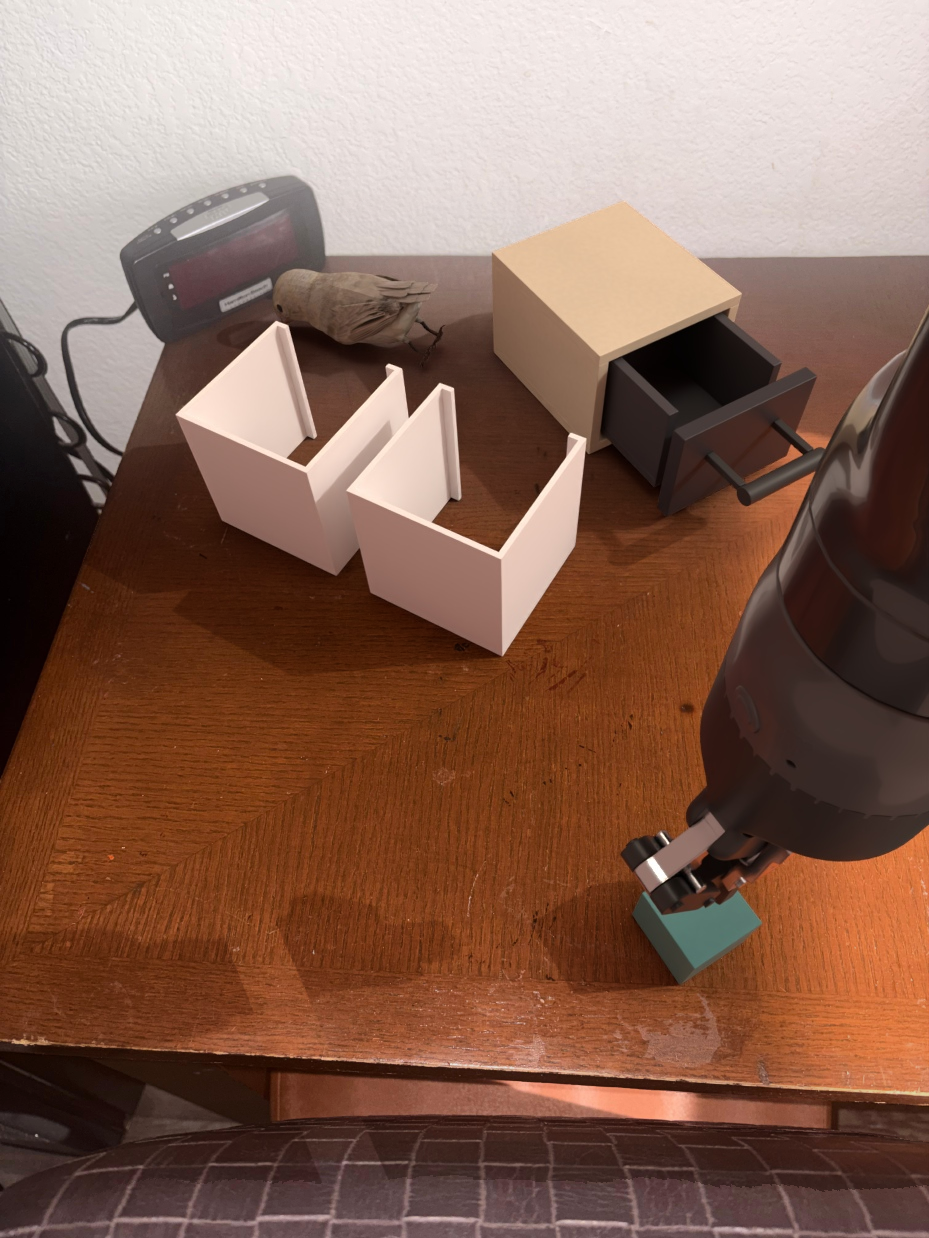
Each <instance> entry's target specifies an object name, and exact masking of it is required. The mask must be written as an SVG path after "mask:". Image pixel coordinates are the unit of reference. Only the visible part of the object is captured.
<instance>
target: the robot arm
mask: <svg viewBox="0 0 929 1238" xmlns="http://www.w3.org/2000/svg"><path fill="white" fill-rule="evenodd" d="M824 449H825V451H824V453H823V455H822V457H821V459H820V461H819V463H818V464H817V467H816V471H815V472H814V474H813V476H812V478H811V480H810V483H809V485H808V488H807V490H806V492H805V494H804V497H803V499H802V501H801V504H800V506H799V508H798V510H797V513H796V515H795V516H794V518H793V519H794V520H793V522H792V524H791V527H790V528H789V531H788V533H787V535H786V537H785V539H784V541H783V543H782V545H781V546H780V548H779V549H778V551H777V552H776V554H775V555H774V557H773V558H772V559H771V560H770V562H769V563H768V565H767V566H766V567H765V569H764V570H763V572H762V574H761V575H760V576H759V579H758V580H757V582H756V584H755V586H754V588H752V589H753V590H752V591H751V594H750V596H749V597H748V599H747V602H746V604H745V607H744V609H743V612H742V614H741V616H740V619H739V621H738V624H737V626H736V628H735V631H734V633H733V636H732V638H731V640H730V642H729V645H728V648H727V650H726V653H725V655H724V657H723V659H722V662H721V664H720V667H719V669H718V672H717V673H716V676H715V678H714V681H713V683H712V686H711V688H710V691H709V693H708V695H707V698H706V699H705V703H704V706H703V709H702V713H701V717H700V724H699V744H700V753H701V758H702V759H701V760H702V765H703V770H704V775H705V782H706V786H704V788H703V789H702V790H701V791H700V792H699V793H698V794H697V795H696V796H695V797H694V799H692V801H690V803H689V805H688V807H687V808H686V812H685V821H686V824H687V827H688V828H687V829H686V830H684V831H683V832H681V834H679V835H678V836H676V837H675V838H672V836H671V834H669V832H668V831H667V830H666V829H661V830H660V831H658V832H656V834H655V835H647V834H646V835H643V836H641V837H639V838H638V837H634V838H633V839H630V841H628V842H627V843H626V844H625V847H624V848H623V849H622V851H621V852H620V853H619V856H620V857H621V858H622V860H623V861H624V863H625V864H626V866H627V867H628V868H629V870H630V871H631V873H632V874H633V876H634V877H635V879H636V880H637V881H638V883H639V884H640V886H641V887H642V889H643V890H644V891H645V892H646V893H647V894H648V896H649V897H650V899H651V900H652V902H653V903H654V905H655V906H656V907H657V909H658V910H659V912H660V913H661V915H667V914H673V913H680V912H686V911H693V910H697V909H699V908H701V907H703V906H704V907H705V908H707V907H709V906H710V905H712V904H713V903H714V902H715V903H716V904H718V905H721V904H722V903H724V902H725V901H727V900H728V899H730V898H731V897H733V896H734V894H735V893H736V892H737V891H738V892H739V889H741V888H743V887H745V885H747V884H755V883H756V882H757V881H759V880H760V879H762V878H764V877H765V876H766V875H768V874H769V873H771V872H773V871H774V870H776V869H777V868H778V867H779V866H781V865H782V864H783V863H785V862H786V861H788V860H790V859H791V858H793V857H794V856H796V855H798V856H802V857H805V858H810V859H814V860H820V861H825V862H837V863H839V862H841V863H849V862H850V863H851V862H860V861H866V860H871V859H874V858H878V857H881V856H884V855H886V854H889V853H892V852H894V851H895V850H898V849H899V848H901V847H903V846H905V845H906V844H907V843H909V842H910V841H911V840H913V839H914V838H915V837H916V836H917V835H918V834H920V833H921V832H922V831H923V830H925V829H926V828H927V827H929V303H928V304H927V306H926V308H925V310H924V312H923V315H922V317H921V320H920V322H919V323H918V326H917V327H916V329H915V332H914V334H913V336H912V337H911V339H910V342H909V344H908V346H907V348H906V349H904V350H903V351H901V352H900V353H898V354H896V355H894V356H893V357H892V358H891V359H890V360H888V361H887V362H886V363H885V364H884V365H883V366H881V368H879V369H878V370H877V371H876V372H875V373H874V374H873V375H872V376H871V377H870V378H869V379H868V380H867V381H866V383H865V384H864V386H862V388H861V389H860V391H859V392H858V393H857V394H856V396H855V397H854V399H853V400H852V402H851V403H850V404H849V405H848V407H847V409H846V410H845V412H844V414H843V415H842V417H841V418H840V420H839V422H838V424H837V425H836V427H835V428H834V431H833V433H832V435H831V436H830V439H829V441H828V443H827V445H826V447H825V448H824Z"/></svg>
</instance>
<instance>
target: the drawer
mask: <svg viewBox="0 0 929 1238" xmlns="http://www.w3.org/2000/svg"><path fill="white" fill-rule="evenodd" d="M782 364H783V361H782V360H781V359H779V358H778V357H777V356H776V355H774V353H772V352H771V351H769V350H768V349H767V348H766V347H764V346H763V345H762V344H761V343H760V342H759V341H757V340H756V339H755V338H754V337H752V336H751V335H750V334H749V333H747V332H746V331H745V330H744V329H742V328H741V327H740V326H739V325H737V323H735V321H734V322H733V321H731V320H730V319H729V318H728V317H727V316H725V315H724V314H723V313H722V312H719V313H717V314H715V315H713V316H710V317H708V318H706V319H704V320H701V321H699V322H697V323H695V324H692V325H690V326H688V327H686V328H683V329H681V330H679V331H677V332H674V333H672V334H670V335H668V336H665V337H663V338H661V339H659V340H656V341H654V342H652V343H650V344H647V345H645V346H643V347H641V348H638V349H636V350H634V351H632V352H629V353H627V354H625V355H623V356H620V357H618V358H616V359H614V360H611V361H609V363H608V372H607V380H606V388H605V396H604V404H603V412H602V421H601V429H600V432H601V433H602V434H603V435H604V436H605V437H606V438H607V439H608V440H609V441H610V442H611V443H612V444H611V445H613V447H615V448H616V449H617V451H618V452H619V453H620V454H621V455H622V456H623V457H625V459H626V460H627V461H628V462H629V463H630V464H631V465H632V466H633V467H634V468H635V469H636V471H638V473H640V474H641V475H642V476H643V478H645V479H646V481H647V482H648V483H649V484H650V485H651V486H652V487H653V488H656V487H658V486H660V485H661V486H660V490H659V495H658V498H657V499H658V500H657V504H656V508H657V509H658V510H659V511H660V512H661V514H662V515H663V516H664V517H666V518H667V517H670V516H671V515H674V514H675V513H678V512H679V511H681V510H683V509H685V508H687V507H689V506H692V505H693V504H695V503H697V502H699V501H701V500H703V499H705V498H707V497H709V496H711V495H713V494H715V493H716V492H719V491H720V490H722V489H724V488H727V487H728V486H731V487H732V488H734V490H735V491H736V498H737V500H738V502H739V503H740V504H741V505H742V506H744V507H749V506H752V505H753V504H756V503H758V502H759V501H761V500H763V499H765V498H768V497H769V496H771V495H772V494H774V493H777V492H778V491H780V490H782V489H784V488H786V487H788V486H790V485H792V484H794V483H796V482H798V481H800V480H802V479H803V478H806V477H807V476H809V475H811V474H813V473H815V471H816V467H817V464H818V463H819V461H820V459H821V457H822V455H823V453H824V451H825V449H826V448H824V447H822V446H818V447H816V448H814V447H813V446H812V445H811V444H810V443H809V442H808V441H806V440H805V439H804V438H803V437H802V436H800V434H799V433H797V431H798V428H799V425H800V422H801V420H802V417H803V416H804V413H805V409H806V407H807V404H808V402H809V399H810V397H811V394H812V391H813V389H814V386H815V384H816V381H817V378H818V375H817V374H816V373H814V372H813V371H812V370H811V369H809V368H808V367H807V366H804V367H801V368H800V369H798V370H796V371H794V372H792V373H789V374H787V375H785V376H784V377H782V378H779V379H778V376H779V373H780V369H781V367H782ZM791 446H792V447H793V448H794V449H795V450H797V451H798V452H799V453H800V454H801V455H800V456H798V457H796V458H794V459H792V460H790V461H788V462H786V463H784V464H783V465H780V466H779V467H776V468H774V469H772V470H770V471H769V472H767V473H765V474H763V475H761V476H758V477H756V478H755V479H753V480H751V481H748V482H746V481H745V480H744V478H746V477H748V476H750V475H753V474H754V473H756V472H758V471H760V470H762V469H764V468H766V467H768V466H769V465H772V464H775V462H777V461H780V460H782V459H784V458H785V457H787V456H788V453H789V451H790V449H791Z"/></svg>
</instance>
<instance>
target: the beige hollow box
mask: <svg viewBox="0 0 929 1238" xmlns="http://www.w3.org/2000/svg"><path fill="white" fill-rule="evenodd" d="M491 280H492V283H491V285H492V286H491V287H492V332H493V333H492V335H493V337H492V338H493V339H492V340H493V353H494V354H495V355H496V356H497V357H498V358H499V360H501V361H502V362H503V364H504V365H505V366H506V367H507V368H508V369H509V370H510V372H512V373H513V375H514V376H515V377H516V378H517V379H518V380H519V381H520V382H521V383H522V384H523V386H525V388H526V389H527V390H528V391H529V392H530V393H531V394H532V395H533V396H534V397H535V398H536V400H537V401H539V403H540V404H541V405H542V406H543V407H544V408H545V409H546V410H547V411H548V412H549V413H550V414H551V415H552V416H553V418H554V419H555V420H556V421H557V422H558V423H559V424H560V425H561V426H562V427H563V429H565V430H566V432H567V433H568V435H569V434H570V433H573V434H576V435H578V436H581V437H584V438H586V449H585V453H587V454H588V455H591V454H593V453H595V452H597V451H599V450H602V449H604V448H606V447H608V446H610V445H613V444H612V443H611V442H610V441H609V440H608V439H607V438H606V437H605V436H604V435H603V434H602V433H601V432H600V429H601V421H602V412H603V404H604V396H605V388H606V380H607V372H608V363H609V361H611V360H614V359H616V358H618V357H620V356H623V355H625V354H627V353H629V352H632V351H634V350H636V349H638V348H641V347H643V346H645V345H647V344H650V343H652V342H654V341H656V340H659V339H661V338H663V337H665V336H668V335H670V334H672V333H674V332H677V331H679V330H681V329H683V328H686V327H688V326H690V325H692V324H695V323H697V322H699V321H701V320H704V319H706V318H708V317H710V316H713V315H715V314H717V313H719V312H722V313H723V314H724V315H725V316H727V317H728V318H729V319H730V320H731V321H733V322H734V323H735V320H736V318H737V317H736V316H737V313H738V310H739V305H740V304H741V303H740V302H741V299H742V296H743V293H742V292H741V291H740V290H738V289H737V288H736V287H734V286H733V285H732V284H730V283H729V282H728V281H727V280H725V279H724V278H723V277H721V276H720V275H719V274H718V273H717V272H715V271H714V270H713V269H712V268H710V267H709V266H708V265H707V264H705V263H704V262H703V261H701V260H700V258H698V257H696V256H695V255H694V254H693V253H691V252H690V251H689V250H688V249H686V248H685V247H683V246H682V244H680V243H679V242H677V241H676V240H675V239H674V238H673V237H671V236H670V235H668V233H666V232H665V231H664V230H662V229H661V228H660V227H658V226H657V225H656V224H654V223H653V222H652V221H651V220H650V219H649V218H647V217H646V216H645V215H643V214H642V213H641V212H639V211H638V210H637V209H636V208H634V207H633V206H632V205H630V204H629V203H628V202H627V201H625V200H621V201H618V202H616V203H613V204H611V205H608V206H606V207H603V208H601V209H597V210H595V211H594V212H590V213H588V214H585V215H582V216H580V217H578V218H575V219H572V220H570V221H567V222H566V223H563V224H560V225H557V226H554V227H552V228H550V229H547V230H544V231H542V232H539V233H536V234H534V235H532V236H529V237H527V238H524V239H521V240H519V241H516V242H514V243H511V244H509V245H505V246H504V247H501V248H498V249H496V250H493V251H492V252H491Z"/></svg>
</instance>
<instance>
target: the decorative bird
mask: <svg viewBox="0 0 929 1238" xmlns="http://www.w3.org/2000/svg"><path fill="white" fill-rule="evenodd" d="M438 285H439V284H438V283H429V281H419V282H417V281H416V280H402V279H399V278H396V277H394V276H391V275H387V274H371V273H364V272H360V271H359V272H356V271H341V272H333V273H329V272H328V273H327V272H320V271H319V272H318V271H314V270H311V269H304V268H293V269H289V270H286V271H285V272H283V273H282V274H280V276H279V277H278V278H277V280H276V282H275V284H274V286H273V288H272V289H273V290H272V297H271V298H272V306H273V310H274V312H275V314H276V317H277V319H278V320H279V322H280V323H283V324H286V325H289V324H291V323H293V322H295V321H301V322H302V321H303V322H308V324H310V325H311V327H313V328H315V329H317V330H318V331H321V332H322V333H324V334H325V335H327V336H328V337H330V338H331V339H332V340H334V341H335V342H337V343H340V344H342V345H354V344H357V343H361V344H363V343H364V344H381V343H383V344H384V343H385V344H395V343H398V342H402V343H403V344H405V345H406V344H407V345H408V346H409V347H410V348H411V349H412V350H413V351H414V352H415V353H417V354H419V355H421V356H423V358H422V359H421V360H420V362H419V364H418V365H419V366H418V372H419V373H418V374H421V367H422V368H424V364H425V363H426V362H427V361H428V360H429V358H430V356H431V353H433V352H434V351H433V350H434V348H435V349H436V348H437V343H438V342H439V341H440V340H442V337H443V334H444V332H443V328H444V327H445V326H446V324H442V326H440V327H439V329H438V332H437V331H435V330H433V329H432V328H430V327H429V326H428V325H427V324H426V322H425V321H424V320H423V319H422V317H421V316H419V313H420V310H421V307H422V305H423V303H425V302H428V300H429V299H430V297H431V293H434V292H435V290H436V289H437V288H438ZM414 323H417V324H419V325H421V326H422V328H423V329H424V330H426V331H427V332H428V333H430V334H431V335H433V336H435V339H434V340H433V342H432V344H431V345H429V346H428V347H427V348H426V351H425V352H424V351H422V350H420V349H418V347H416V346H415V345H414V344H413V342H412V341H411V340H410V338H409V337H408V336H407V334H409V332H410V331H411V328H413V327H412V326H414Z"/></svg>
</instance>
